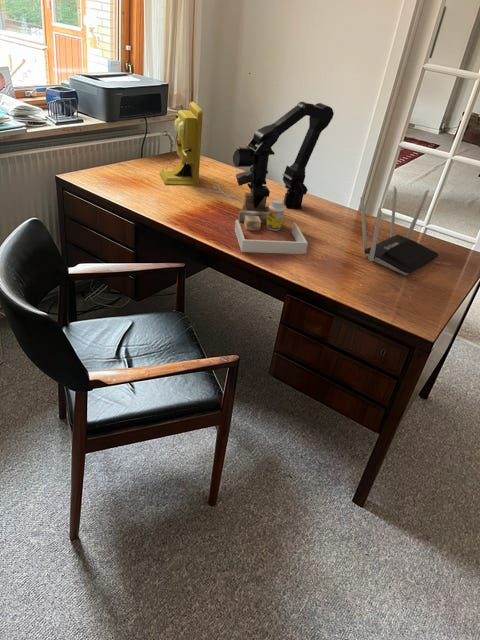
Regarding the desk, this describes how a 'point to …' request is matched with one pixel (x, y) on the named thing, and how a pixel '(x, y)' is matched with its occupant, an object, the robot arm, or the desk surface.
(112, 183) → the desk surface
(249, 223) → the pale wooden block
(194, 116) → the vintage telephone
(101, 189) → the desk surface
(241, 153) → the robot arm
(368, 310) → the desk surface
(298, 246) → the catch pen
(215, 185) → the scissors
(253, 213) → the wooden block frame
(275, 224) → the supplement bottle
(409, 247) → the wireless router
